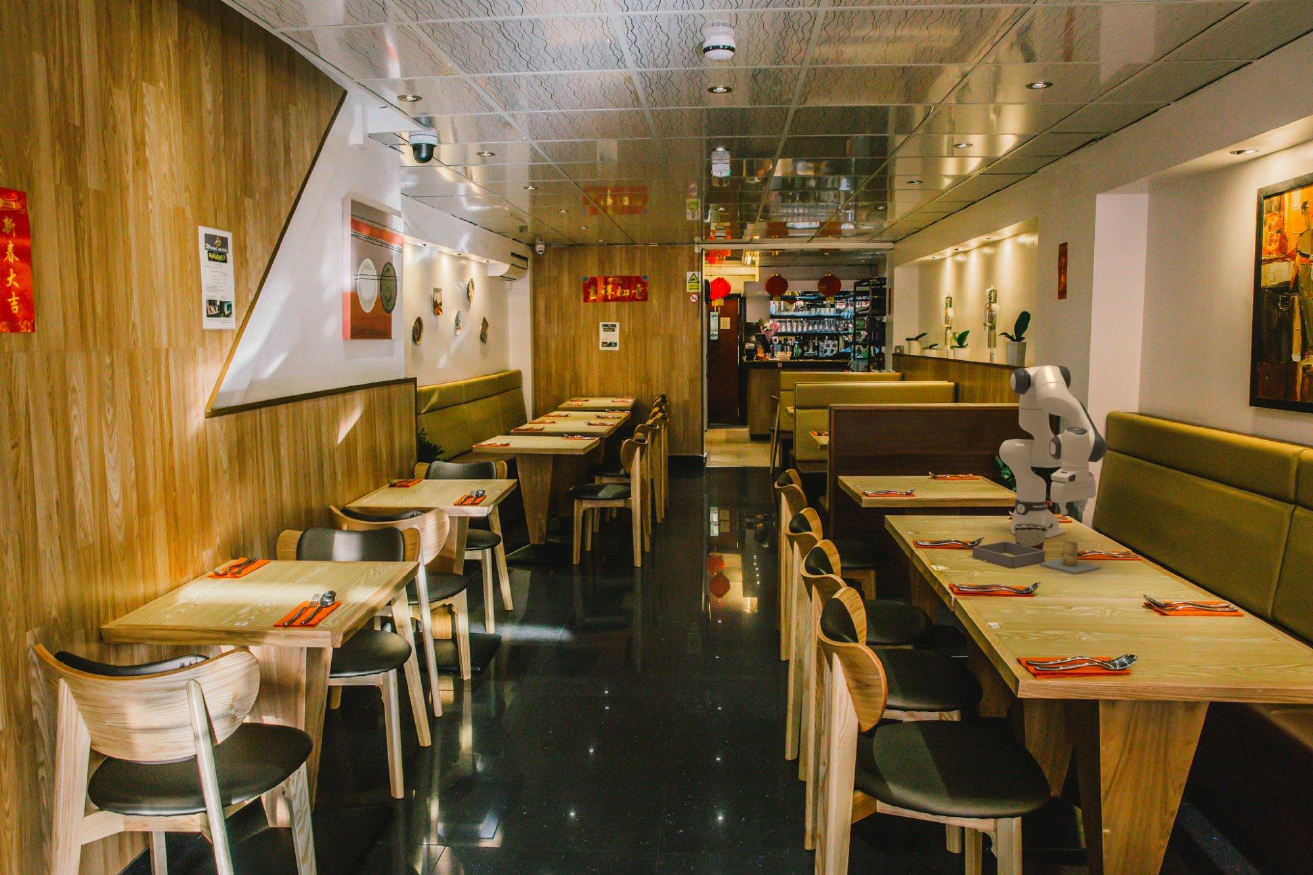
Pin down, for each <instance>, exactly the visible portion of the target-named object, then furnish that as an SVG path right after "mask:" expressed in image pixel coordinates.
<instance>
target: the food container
mask: <svg viewBox="0 0 1313 875" xmlns="http://www.w3.org/2000/svg"><path fill="white" fill-rule="evenodd" d="M1013 531H1015V534H1014V535H1015V544H1019V545H1023V546H1027V547H1031V548H1036V549H1040V550H1044V547H1045V546H1044V545H1045V540H1046V538H1045V534H1046V532H1048V531H1047V528H1046V526H1044V525H1040V524H1033V523H1019V524H1015V526H1014V529H1013Z"/></svg>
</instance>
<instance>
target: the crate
mask: <svg viewBox="0 0 1313 875" xmlns="http://www.w3.org/2000/svg"><path fill="white" fill-rule="evenodd" d="M1004 553H1007V554H1010V555H1007V554H1004ZM1011 555H1012V556H1011ZM972 557H975V558H977V559H976V560H979V559H981V560H980V561H983V560H986V561H988V563H990V562H992V563H991V564H994V565H997V564H998V566H1002V567H1005V568H1008V569H1016V568H1021V567H1026V566H1031V565H1037V564H1038V565H1039V564H1040V563H1043V562H1046V561H1045V559H1046V551H1045V549H1043V550H1040V549H1036V548H1031V547H1027V546H1023V545H1019V544H1016V542H1012V541H1007V540H1006V541H997V542H992V543H991V542H990V543H986V544H979V545H974V546H973V547H972ZM975 558H974V559H975ZM986 561H985V562H986Z"/></svg>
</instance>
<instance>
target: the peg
mask: <svg viewBox="0 0 1313 875" xmlns="http://www.w3.org/2000/svg"><path fill="white" fill-rule="evenodd" d="M1078 545H1079V543H1078V542H1076V541H1069V540H1068V541H1067V540H1066V541H1064V542H1063V554H1062V555H1063V558H1062V559H1063V565H1065V566H1071V567H1074V566H1077V561H1078Z"/></svg>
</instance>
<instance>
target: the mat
mask: <svg viewBox="0 0 1313 875" xmlns="http://www.w3.org/2000/svg"><path fill="white" fill-rule="evenodd" d="M1039 566H1041V567H1044V568H1047V569H1052V570H1056V571H1060V572H1064V573H1068V574H1071V575H1079V574H1083V573H1088V572H1093V571H1097V570H1101V566H1099V565H1095V564H1089V563H1086V562H1082V561H1078V560H1077V566H1074V567H1071V566H1065V565H1063V558H1060V559H1054V560H1048V561H1045V562H1043V563H1039Z"/></svg>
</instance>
